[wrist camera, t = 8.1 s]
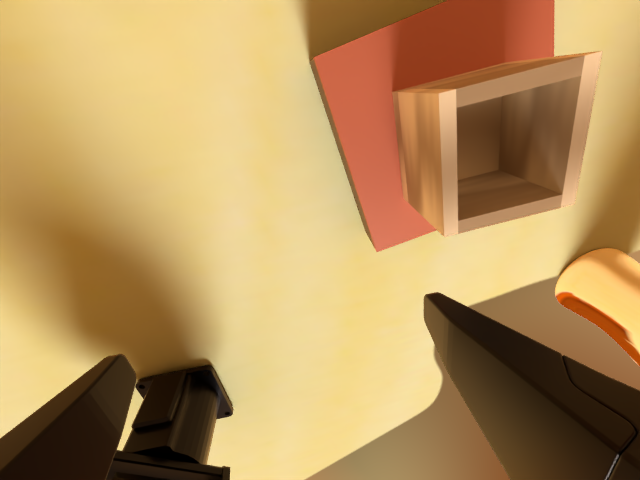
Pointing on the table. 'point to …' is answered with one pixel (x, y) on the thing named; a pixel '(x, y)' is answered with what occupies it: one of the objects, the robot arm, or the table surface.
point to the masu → (495, 140)
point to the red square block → (407, 71)
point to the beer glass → (605, 295)
